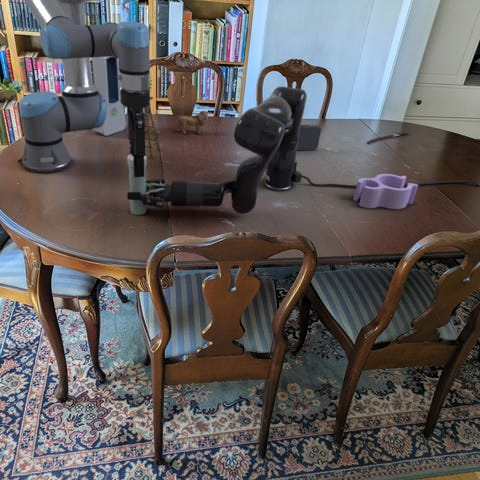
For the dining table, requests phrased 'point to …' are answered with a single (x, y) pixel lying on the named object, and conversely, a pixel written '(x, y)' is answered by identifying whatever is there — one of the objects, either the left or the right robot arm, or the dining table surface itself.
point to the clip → (384, 192)
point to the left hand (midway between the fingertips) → (137, 171)
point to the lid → (131, 160)
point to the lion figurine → (193, 121)
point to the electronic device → (109, 93)
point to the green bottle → (137, 186)
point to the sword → (386, 137)
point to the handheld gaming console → (309, 137)
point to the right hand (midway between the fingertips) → (128, 191)
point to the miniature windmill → (150, 126)
